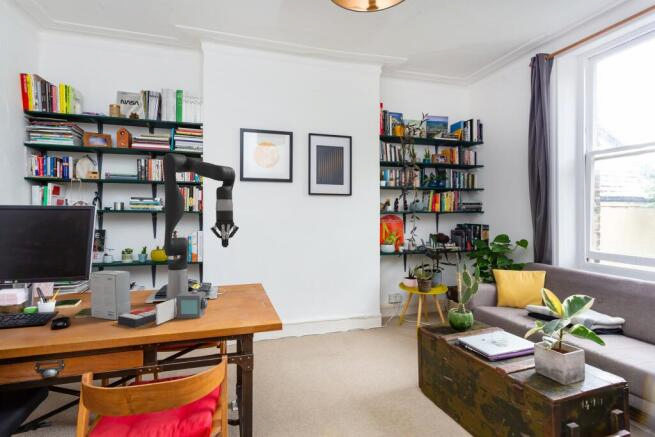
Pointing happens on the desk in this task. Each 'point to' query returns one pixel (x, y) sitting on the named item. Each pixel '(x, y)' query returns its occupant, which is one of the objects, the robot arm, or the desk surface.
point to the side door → (164, 311)
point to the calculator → (137, 318)
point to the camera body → (190, 304)
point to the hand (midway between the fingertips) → (225, 247)
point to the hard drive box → (110, 294)
